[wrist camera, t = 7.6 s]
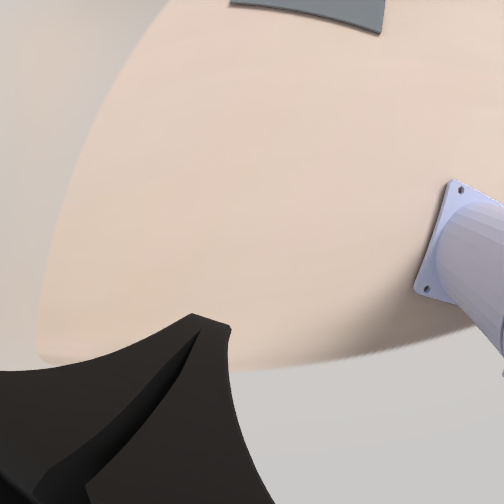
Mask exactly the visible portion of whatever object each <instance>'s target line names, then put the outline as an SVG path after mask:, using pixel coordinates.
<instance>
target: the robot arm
mask: <svg viewBox="0 0 504 504" xmlns="http://www.w3.org/2000/svg"><path fill="white" fill-rule="evenodd" d="M459 187H461V193H459V192H458V188H459ZM426 286H428V289H427V290H425V291H424V288H425V287H426ZM413 288H414V291H415V292H416V293H417V294H420V295H423V296H427V297H430V298H434V299H437V300H441V301H444V302H448V303H451V304H455V305H458V306H459V307H460V308H461V309H462V310H463V311H464V312H465V313H466V314H467V316H468V317H469V318H470V319H471V320H472V321H473V322H474V323H475V324H476V325H477V327H478V328H479V329H480V330H481V331H482V332H483V333H484V335H485V336H486V337H487V338H488V339H489V340H490V342H491V343H492V344H493V345H494V346H495V347H496V349H497V350H498V351H499V352H500V354H501V355H502V356H503V357H504V205H503V204H501V203H499V202H497V201H496V200H494V199H492V198H490V197H488V196H487V195H485V194H483V193H481V192H479V191H477V190H475V189H474V188H472V187H470V186H468V185H466V184H464V183H462V182H460V181H458V180H454V179H452V180H450V181H449V182H448V184H447V188H446V191H445V195H444V199H443V202H442V206H441V209H440V213H439V216H438V219H437V222H436V225H435V229H434V232H433V235H432V238H431V240H430V243H429V246H428V249H427V252H426V254H425V257H424V260H423V262H422V265H421V268H420V270H419V273H418V275H417V278H416V280H415V283H414V286H413ZM231 330H232V329H231V328H230V326H229V325H227V324H224V323H221V322H217V321H214V320H211V319H208V318H205V317H202V316H199V315H196V314H193V313H191V314H189V315H187V316H185V317H183V318H182V319H180V320H178V321H177V322H175V323H173V324H171V325H170V326H168V327H166V328H164V329H162V330H161V331H159V332H157V333H155V334H153V335H151V336H149V337H147V338H145V339H143V340H141V341H139V342H137V343H134V344H132V345H130V346H128V347H125V348H123V349H121V350H118V351H116V352H113V353H110V354H107V355H104V356H101V357H98V358H95V359H91V360H88V361H84V362H79V363H75V364H70V365H65V366H60V367H55V368H48V369H39V370H27V371H0V504H275V503H274V501H273V500H272V498H271V496H270V494H269V493H268V491H267V489H266V487H265V485H264V484H263V482H262V480H261V478H260V476H259V474H258V472H257V470H256V468H255V465H254V463H253V460H252V458H251V456H250V454H249V451H248V448H247V446H246V444H245V441H244V438H243V436H242V432H241V429H240V426H239V423H238V419H237V416H236V412H235V408H234V404H233V399H232V394H231V387H230V381H229V371H228V341H229V337H230V334H231ZM502 376H503V377H504V371H503V373H502Z"/></svg>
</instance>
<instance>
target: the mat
mask: <svg viewBox="0 0 504 504" xmlns="http://www.w3.org/2000/svg"><path fill="white" fill-rule="evenodd" d="M230 3H231V4H243V5H254V6H263V7H271V8H278V9H284V10H290V11H296V12H301V13H306V14H311V15H316V16H320V17H325V18H329V19H333V20H337V21H340V22H344V23H347V24H351V25H354V26H358V27H361V28H364V29H367V30H370V31H373V32H376V33H379V34H380V33H381V30H382V23H383V16H384V8H385V0H231V1H230Z"/></svg>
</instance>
